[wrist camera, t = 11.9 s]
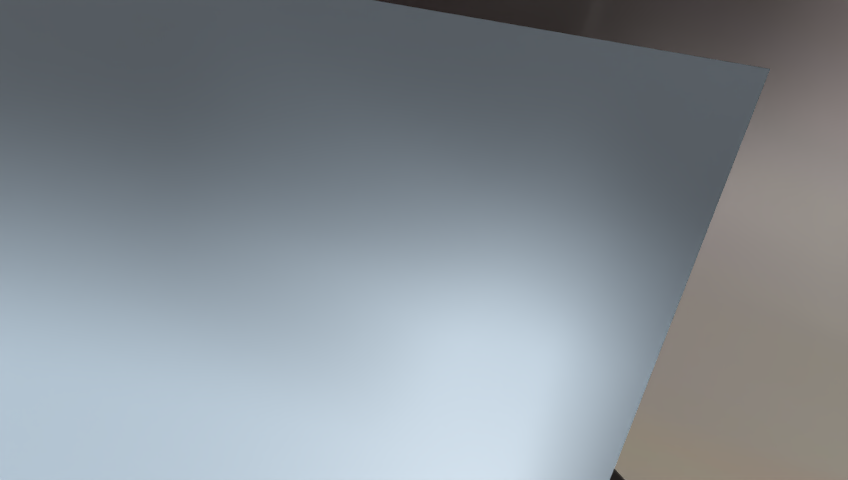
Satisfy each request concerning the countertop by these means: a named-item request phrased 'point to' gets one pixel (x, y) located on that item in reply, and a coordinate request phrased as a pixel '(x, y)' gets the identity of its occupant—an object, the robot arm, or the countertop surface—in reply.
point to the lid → (340, 238)
